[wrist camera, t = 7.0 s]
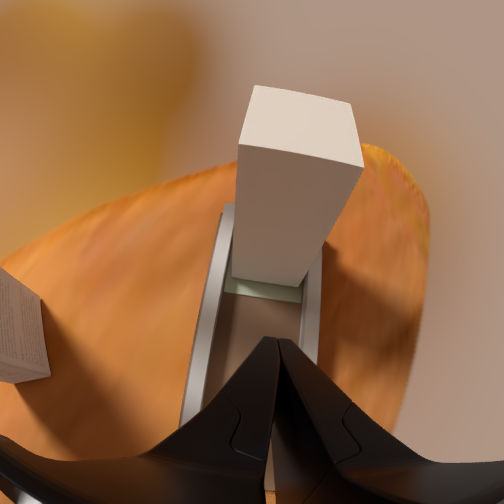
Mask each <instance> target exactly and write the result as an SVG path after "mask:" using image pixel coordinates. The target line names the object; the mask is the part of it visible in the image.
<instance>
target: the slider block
mask: <svg viewBox="0 0 504 504" xmlns="http://www.w3.org/2000/svg"><path fill="white" fill-rule="evenodd" d="M363 169H364V163H363V158H362V153H361V148H360V143H359V138H358V134H357V129H356V125H355V121H354V116H353V112H352V108H351V104H349V103H345V102H340V101H337V100H333V99H329V98H324V97H320V96H315V95H311V94H306V93H301V92H295V91H290V90H284V89H278V88H271V87H264V86H257V85H255V86H254V90H253V93H252V96H251V100H250V104H249V107H248V111H247V114H246V118H245V121H244V125H243V129H242V132H241V137H240V140H239V144H238V158H237V175H236V192H235V211H234V230H233V251H232V274H231V277H232V278H239V279H245V280H251V281H258V282H265V283H271V284H278V285H285V286H292V287H298V286H299V285H300V283H301V281H302V280H303V278H304V276H305V275H306V273H307V271H308V270H309V268H310V266H311V264H312V263H313V261H314V259H315V258H316V256H317V254H318V252H319V251H320V249H321V247H322V245H323V244H324V242H325V240H326V238H327V237H328V235H329V233H330V231H331V229H332V228H333V226H334V224H335V222H336V220H337V219H338V217H339V215H340V213H341V211H342V209H343V208H344V206H345V204H346V202H347V200H348V198H349V196H350V194H351V193H352V191H353V189H354V187H355V185H356V183H357V181H358V179H359V177H360V175H361V173H362V171H363Z"/></svg>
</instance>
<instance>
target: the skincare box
mask: <svg viewBox="0 0 504 504" xmlns="http://www.w3.org/2000/svg"><path fill="white" fill-rule="evenodd" d="M49 376H51V372H50V368H49V363H48V358H47V352H46V346H45V339H44V332H43V324H42V315H41V305H40V296H38V295H37V294H36V293H34V292H33V291H31V290H30V289H29V288H27V287H26V286H25V285H23V284H22V283H20V282H19V281H18V280H17V279H15V278H14V277H13V276H11V275H10V274H9V273H7V272H6V271H5V270H4V269H2V268H1V267H0V381H1V382H6V383H11V384H14V383H19V382H24V381H30V380H35V379H40V378H45V377H49Z"/></svg>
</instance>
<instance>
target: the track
mask: <svg viewBox="0 0 504 504" xmlns="http://www.w3.org/2000/svg"><path fill="white" fill-rule="evenodd" d="M234 211H235V204H233V203H226V202H225V206H224V211H223V213H221V215H220V219H219V223H218V227H217V232H216V236H215V240H214V245H213V249H212V254H211V258H210V263H209V267H208V272H207V276H206V281H205V286H204V290H203V295H202V300H201V305H200V310H199V315H198V320H197V325H196V330H195V335H194V340H193V345H192V350H191V356H190V361H189V367H188V372H187V378H186V384H185V389H184V395H183V401H182V407H181V413H180V420H179V426H178V429H179V428H180V427H181V426H183V425H184V424H185V423H186V422H188V421H189V420H190V419H191V418H192V417H194V416H195V415H196V414H197V413H198V412H199V411H201V410H202V409H203V408H204V407H205V406H206V404H207V403H208V402H209V401H210V400H211V399H212V398H213V397H214V396H215V395H216V393H217V392H218V391H219V390H220V389H221V388H222V387H223V385H224V384H225V383H226V382H227V381H228V379H229V378H230V377H231V376H232V374H233V373H234V372H235V371H236V370H237V368H238V367H239V366H240V365H241V363H242V362H243V361H244V360H245V359H246V357H247V356H248V355H249V354H250V352H251V351H252V350H253V349H254V347H255V346H256V345H257V343H258V342H259V341H260V340H261V338H262V337H263V336H270V337H276V338H277V339H278V338H286V339H291V340H292V341H293V342H294V343H295V344H296V345H297V346H298V347H299V348H300V349H301V350H302V351H303V352H304V353H305V354H306V355H307V356H308V357H309V358H310V359H311V360H312V361H313V362H314V363H315V364H316V365H317V354H318V341H319V325H320V306H321V280H322V247H321V249H320V251H319V252H318V254H317V256H316V258H315V259H314V261H313V263H312V264H311V266H310V268H309V270H308V271H307V273H306V275H305V276H304V278H303V280H302V281H301V283H300V285H299V286H298V287H292V286H285V285H278V284H271V283H265V282H258V281H251V280H245V279H239V278H232V277H231V274H232V251H233V230H234ZM264 486H265V490H270V491H275V483H274V470H273V457H272V444H271V439H270V446H269V452H268V459H267V464H266V471H265V481H264Z"/></svg>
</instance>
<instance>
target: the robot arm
mask: <svg viewBox="0 0 504 504" xmlns="http://www.w3.org/2000/svg"><path fill="white" fill-rule="evenodd" d="M270 439H271V444H272V457H273V470H274V483H275V496H276V504H504V461H493V462H476V463H440V462H434V461H431V460H428V459H426V458H423V457H422V456H420V455H418V454H417V453H415V452H414V451H413V450H411V449H410V448H409V447H407V446H406V445H405V444H403V443H402V442H400V441H399V440H398V439H396V438H395V437H394V436H392V435H391V434H390V433H388V432H387V431H386V430H385V429H383V428H382V427H381V426H380V425H378V424H377V423H376V422H375V421H373V420H372V419H371V418H370V417H369V416H368V415H367V414H366V413H365V412H363V411H362V410H361V409H360V408H359V407H358V406H357V405H356V404H355V403H354V402H352V400H351V399H350V398H349V397H348V396H347V395H346V394H345V393H344V392H343V391H342V390H341V389H340V388H339V387H338V386H337V385H336V384H335V383H334V382H333V381H332V380H331V379H330V378H329V377H328V376H327V375H326V374H325V373H324V372H323V371H322V370H321V369H320V368H319V367H318V366H317V365H316V364H315V363H314V362H313V361H312V360H311V359H310V358H309V357H308V356H307V355H306V354H305V353H304V352H303V351H302V350H301V349H300V348H299V347H298V346H297V345H296V344H295V343H294V342H293V341H292V340H291V339H286V338H278V339H277V338H276V337H270V336H263V337H262V338H261V340H260V341H259V342H258V343H257V345H256V346H255V347H254V349H253V350H252V351H251V352H250V354H249V355H248V356H247V357H246V359H245V360H244V361H243V362H242V363H241V365H240V366H239V367H238V368H237V370H236V371H235V372H234V373H233V374H232V376H231V377H230V378H229V379H228V381H227V382H226V383H225V384H224V385H223V387H222V388H221V389H220V390H219V391H218V392H217V393H216V395H215V396H214V397H213V398H212V399H211V400H210V401H209V402H208V403H207V404H206V406H205V407H204V408H203V409H202V410H201V411H199V412H198V413H197V414H196V415H195V416H194V417H192V418H191V419H190V420H189V421H188V422H186V423H185V424H184V425H183V426H181V427H180V428H179V429H177V430H176V431H175V432H173V433H172V434H171V435H170V436H168V437H167V438H166V439H164V440H163V441H162V442H160V443H159V444H157V445H156V446H155V447H153V448H152V449H150V450H148V451H146V452H144V453H142V454H139V455H136V456H131V457H123V458H113V459H102V460H85V461H60V460H53V459H48V458H44V457H42V456H39V455H36V454H34V453H32V452H30V451H28V450H26V449H25V448H23V447H22V446H20V445H18V444H17V443H15V442H14V441H12V440H11V439H9V438H8V437H5V436H3V435H0V490H1V491H2V492H3V493H4V494H5V495H6V496H7V497H8V498H9V499H10V500H12V501H13V502H14V503H15V504H266V497H265V486H264V481H265V471H266V464H267V459H268V452H269V446H270Z"/></svg>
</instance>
